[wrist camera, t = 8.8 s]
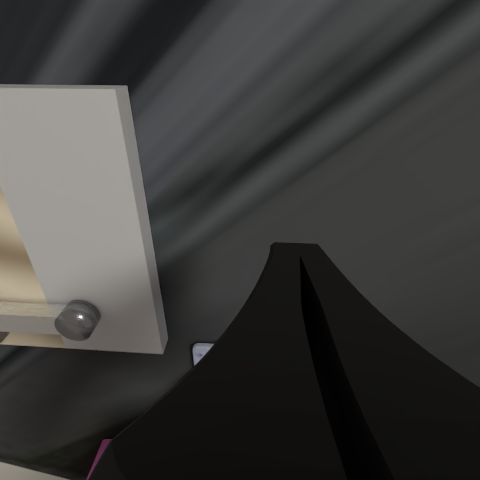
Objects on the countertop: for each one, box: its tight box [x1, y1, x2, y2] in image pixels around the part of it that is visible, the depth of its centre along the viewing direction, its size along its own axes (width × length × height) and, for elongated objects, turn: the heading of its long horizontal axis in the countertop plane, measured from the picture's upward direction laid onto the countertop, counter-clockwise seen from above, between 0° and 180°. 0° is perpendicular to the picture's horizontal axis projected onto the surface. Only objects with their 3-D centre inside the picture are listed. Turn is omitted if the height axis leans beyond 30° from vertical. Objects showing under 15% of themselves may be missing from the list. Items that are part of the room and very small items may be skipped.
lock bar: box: [0, 300, 101, 341], centre depth 22 cm, size 12×2×1 cm, turn 90°
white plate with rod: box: [0, 84, 168, 354], centre depth 20 cm, size 18×8×2 cm, turn 0°
